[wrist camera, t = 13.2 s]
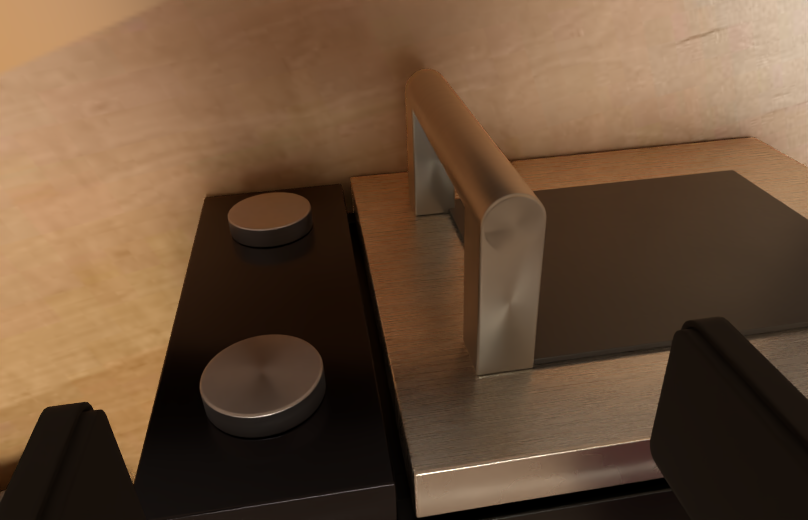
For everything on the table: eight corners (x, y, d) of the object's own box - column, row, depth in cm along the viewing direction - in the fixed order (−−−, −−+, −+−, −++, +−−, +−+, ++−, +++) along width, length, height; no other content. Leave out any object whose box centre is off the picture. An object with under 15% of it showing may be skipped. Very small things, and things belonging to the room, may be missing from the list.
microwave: (201, 178, 27) (109, 510, 13) (755, 124, 30) (1172, 346, 16) (251, 404, 35) (227, 782, 20) (698, 342, 38) (953, 633, 23)
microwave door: (339, 56, 26) (405, 278, 12) (784, 21, 28) (1295, 171, 14) (352, 208, 29) (415, 519, 15) (746, 167, 31) (1120, 404, 17)
